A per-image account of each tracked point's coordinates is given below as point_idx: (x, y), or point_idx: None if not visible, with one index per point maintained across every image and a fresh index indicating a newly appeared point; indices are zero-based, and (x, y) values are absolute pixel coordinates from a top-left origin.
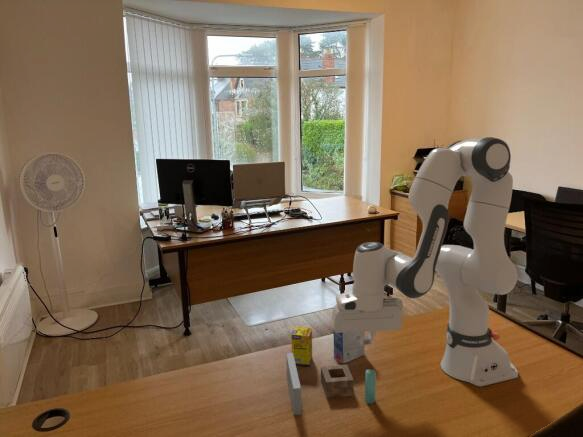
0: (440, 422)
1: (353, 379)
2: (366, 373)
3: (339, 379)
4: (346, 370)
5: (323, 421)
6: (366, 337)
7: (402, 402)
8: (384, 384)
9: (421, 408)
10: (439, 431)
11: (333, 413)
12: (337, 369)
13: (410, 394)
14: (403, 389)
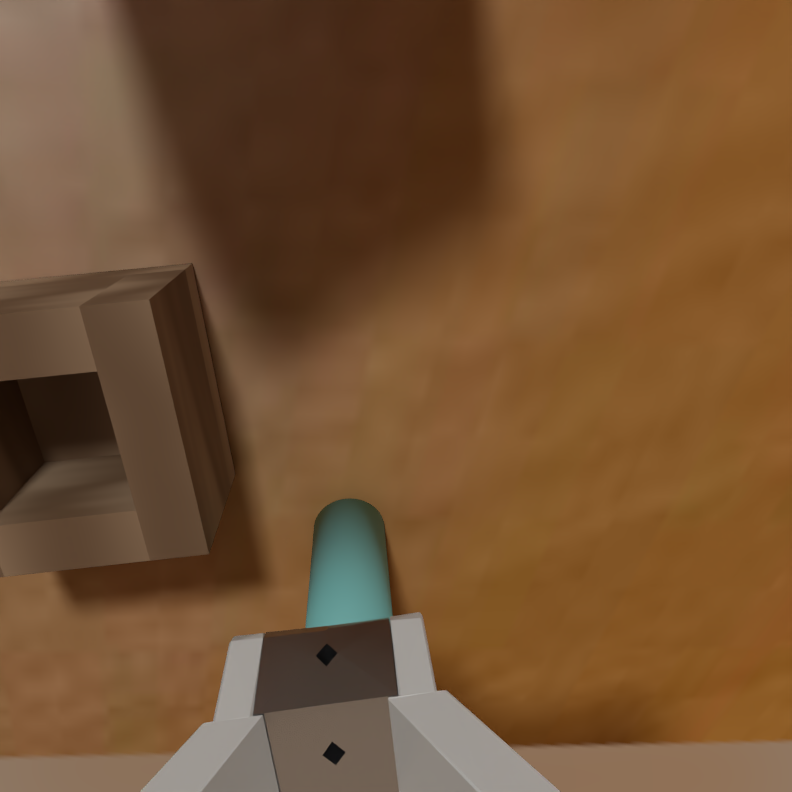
0: (701, 692)
1: (207, 549)
2: None
3: (71, 549)
4: (142, 411)
5: (29, 694)
6: (349, 735)
7: (564, 546)
8: (508, 349)
9: (657, 596)
10: (660, 743)
11: (88, 636)
12: (44, 374)
13: (654, 470)
14: (630, 415)
